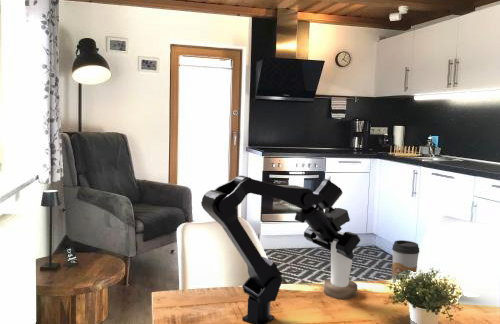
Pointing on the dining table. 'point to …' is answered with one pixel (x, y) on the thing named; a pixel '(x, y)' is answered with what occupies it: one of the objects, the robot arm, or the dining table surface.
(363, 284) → the dining table surface
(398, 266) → the coffee cup
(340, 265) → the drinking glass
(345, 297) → the walnut stand
